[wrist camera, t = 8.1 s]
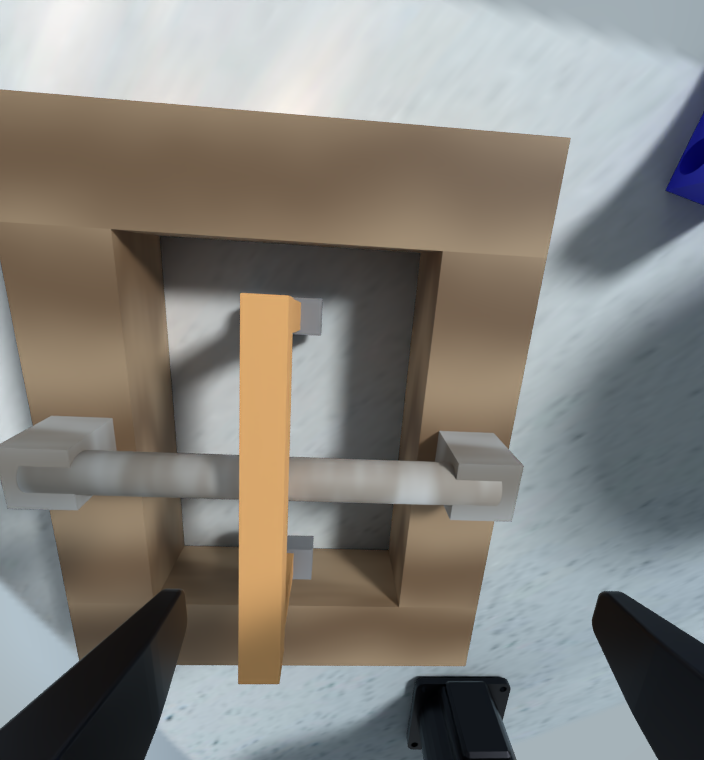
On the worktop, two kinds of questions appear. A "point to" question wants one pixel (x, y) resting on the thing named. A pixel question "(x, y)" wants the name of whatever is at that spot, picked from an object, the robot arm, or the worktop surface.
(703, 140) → the cable clip
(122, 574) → the wooden picture frame
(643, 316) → the worktop surface
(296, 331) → the orange staple arch
